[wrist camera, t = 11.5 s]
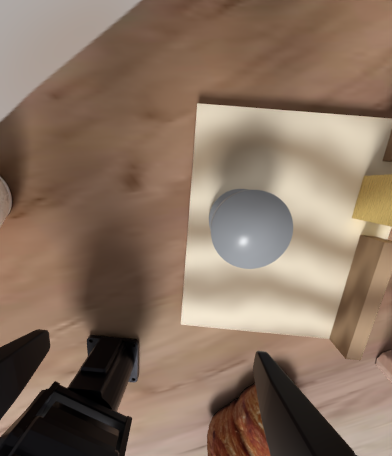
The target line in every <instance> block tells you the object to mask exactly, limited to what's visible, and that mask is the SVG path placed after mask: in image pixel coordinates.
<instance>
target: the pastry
mask: <svg viewBox="0 0 392 456" xmlns="http://www.w3.org/2000/svg"><path fill="white" fill-rule="evenodd" d="M285 374H286V373H285ZM286 375H287V374H286ZM207 450H208V456H271V455H270V452H269V448H268V444H267V440H266V436H265V432H264V428H263V424H262V420H261V414H260V409H259V403H258V397H257V391H256V385H255V384H253V385H251V386H250V387H248V388H246V389H245V390H244V391H243V392H242V394H241V396H240V398H239V399H238V400H233V401H232V402H231V404H230V405H227V406H225V407H223V408H222V409H220V410H219V411H218V412H217V413H216V414H215V415H214V417H213V418H212V420H211V422H210V425H209V430H208V434H207Z"/></svg>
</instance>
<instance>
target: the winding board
mask: <svg viewBox="0 0 392 456" xmlns="http://www.w3.org/2000/svg"><path fill="white" fill-rule="evenodd" d="M387 174H392V119H391V118H378V117H365V116H352V115H340V114H327V113H314V112H301V111H289V110H276V109H263V108H250V107H237V106H225V105H212V104H199V103H197V115H196V129H195V142H194V155H193V169H192V182H191V196H190V209H189V222H188V236H187V249H186V262H185V276H184V289H183V302H182V316H181V325H191V326H201V327H212V328H222V329H232V330H243V331H253V332H263V333H274V334H284V335H294V336H305V337H315V338H325V339H330V340H331V342H332V343H333V344H334V345H335V346H336V348H337V349H338V350H339V351H340V352H341V354H342V355H343V356H344V357H345V359H352V360H361V358H362V355H363V352H364V349H365V347H366V344H367V341H368V338H369V335H370V333H371V330H372V327H373V324H374V321H375V319H376V316H377V313H378V310H379V307H380V305H381V302H382V299H383V296H384V293H385V291H386V288H387V285H388V282H389V279H390V276H391V274H392V241H390V240H387V239H388V236H389V233H390V230H391V227H390V226H386V225H381V224H377V223H372V222H367V221H363V220H358V219H353V218H352V215H353V211H354V208H355V204H356V201H357V198H358V194H359V191H360V187H361V184H362V180H363V177H364V176H371V175H387ZM234 189H248V190H262V191H266V192H269V193H271V194H274V195H275V196H277V197H278V198H280V199H281V200H282V201H283V202H284V203H285V204H286V206H287V207H288V209H289V211H290V213H291V216H292V219H293V235H292V238H291V241H290V244H289V246H288V247H287V249H286V251H285V252H284V253H283V254H282V255H281V256H280V257H279V258H278V259H277V260H276V261H274V262H272V263H271V264H269V265H267V266H264V267H261V268H256V269H244V268H239V267H236V266H233V265H231V264H229V263H228V262H226V261H225V260H224V259H222V257H221V256H220V255H219V254H218V253H217V251H216V249H215V248H214V245H213V243H212V238H211V231H210V227H209V213H210V209H211V207H212V205H213V203H214V202H215V201H216V199H217V198H218V197H220V196H221V195H222V194H224V193H225V192H227V191H230V190H234Z"/></svg>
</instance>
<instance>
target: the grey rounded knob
mask: <svg viewBox="0 0 392 456" xmlns="http://www.w3.org/2000/svg"><path fill="white" fill-rule="evenodd" d="M209 227H210V231H211V238H212V243H213V245H214V248H215V249H216V251H217V253H218V254H219V255H220V256H221V257H222V259H224V260H225V261H226V262H228V263H229V264H231V265H233V266H236V267H239V268H244V269H256V268H261V267H264V266H267V265H269V264H271V263H272V262H274V261H276V260H277V259H278V258H279V257H280V256H281V255H282V254H283V253H284V252H285V251H286V249H287V247H288V246H289V244H290V241H291V238H292V235H293V219H292V216H291V213H290V211H289V209H288V207H287V206H286V204H285V203H284V202H283V201H282V200H281V199H280V198H278V197H277V196H275V195H274V194H271V193H269V192H266V191H262V190H248V189H234V190H230V191H227V192H225V193H224V194H222V195H221V196H220V197H218V198H217V199H216V201H215V202H214V203H213V205H212V207H211V209H210V213H209Z"/></svg>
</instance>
